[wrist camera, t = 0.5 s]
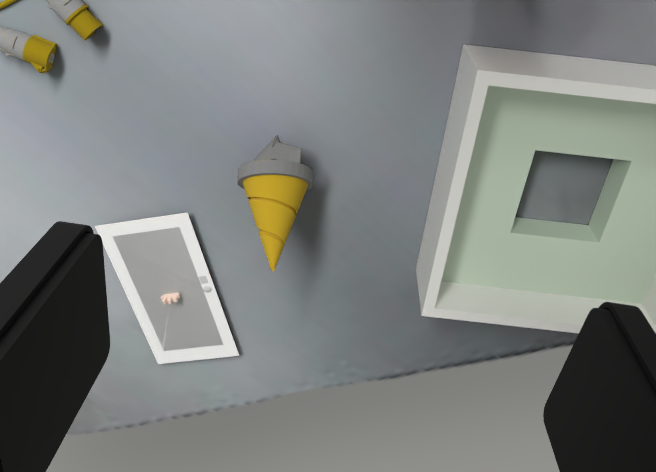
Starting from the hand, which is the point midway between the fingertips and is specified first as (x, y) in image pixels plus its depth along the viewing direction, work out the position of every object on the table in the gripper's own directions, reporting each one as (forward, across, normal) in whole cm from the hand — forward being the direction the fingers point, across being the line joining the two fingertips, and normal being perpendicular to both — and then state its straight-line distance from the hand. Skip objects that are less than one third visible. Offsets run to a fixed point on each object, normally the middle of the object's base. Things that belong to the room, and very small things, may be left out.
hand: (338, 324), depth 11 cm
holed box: (+31, -16, +10) cm, 36 cm away
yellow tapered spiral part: (+31, +4, +12) cm, 34 cm away
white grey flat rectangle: (+32, +12, +25) cm, 42 cm away
